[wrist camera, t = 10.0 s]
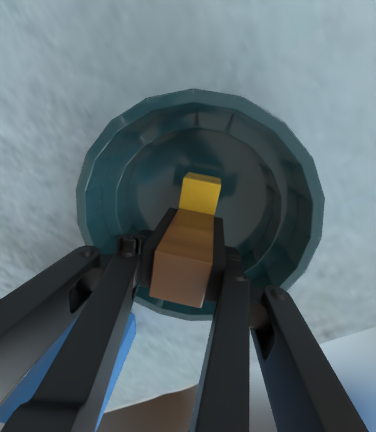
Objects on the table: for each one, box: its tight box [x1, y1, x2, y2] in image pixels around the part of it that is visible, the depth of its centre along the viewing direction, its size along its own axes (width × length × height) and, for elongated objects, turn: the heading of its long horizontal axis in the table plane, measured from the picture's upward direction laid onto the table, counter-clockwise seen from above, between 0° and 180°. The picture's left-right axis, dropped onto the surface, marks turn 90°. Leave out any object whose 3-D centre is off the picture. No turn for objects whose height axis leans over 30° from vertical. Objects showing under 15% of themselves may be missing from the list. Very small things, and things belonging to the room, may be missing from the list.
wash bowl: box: [76, 89, 325, 321], centre depth 19 cm, size 20×20×6 cm
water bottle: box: [0, 312, 136, 432], centre depth 19 cm, size 9×9×25 cm
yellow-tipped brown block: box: [149, 172, 221, 308], centre depth 15 cm, size 8×3×10 cm, turn 170°
